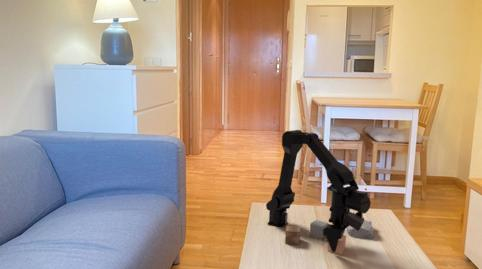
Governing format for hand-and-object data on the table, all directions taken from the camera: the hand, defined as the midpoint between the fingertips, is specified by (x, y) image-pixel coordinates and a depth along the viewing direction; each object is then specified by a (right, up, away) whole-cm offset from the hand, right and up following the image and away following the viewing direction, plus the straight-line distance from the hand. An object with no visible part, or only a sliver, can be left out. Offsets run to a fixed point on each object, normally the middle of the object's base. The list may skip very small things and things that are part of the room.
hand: (336, 246), depth 144 cm
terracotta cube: (0, -1, 0) cm, 1 cm away
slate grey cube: (-4, +1, +12) cm, 13 cm away
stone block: (+13, +1, +16) cm, 21 cm away
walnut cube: (-15, 0, +6) cm, 16 cm away
